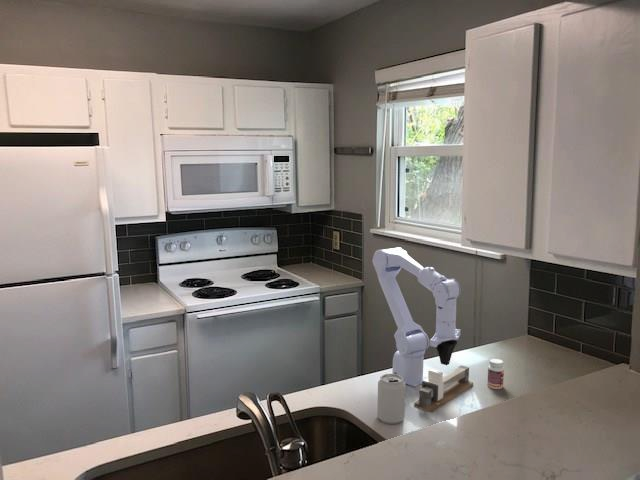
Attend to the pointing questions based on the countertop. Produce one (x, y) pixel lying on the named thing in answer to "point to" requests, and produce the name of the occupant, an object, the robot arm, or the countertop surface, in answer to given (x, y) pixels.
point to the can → (391, 398)
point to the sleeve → (436, 381)
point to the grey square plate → (434, 389)
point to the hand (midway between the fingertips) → (444, 363)
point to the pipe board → (445, 389)
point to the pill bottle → (495, 374)
